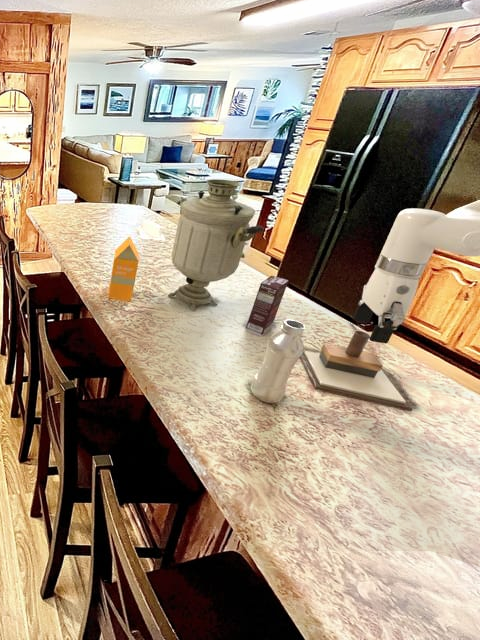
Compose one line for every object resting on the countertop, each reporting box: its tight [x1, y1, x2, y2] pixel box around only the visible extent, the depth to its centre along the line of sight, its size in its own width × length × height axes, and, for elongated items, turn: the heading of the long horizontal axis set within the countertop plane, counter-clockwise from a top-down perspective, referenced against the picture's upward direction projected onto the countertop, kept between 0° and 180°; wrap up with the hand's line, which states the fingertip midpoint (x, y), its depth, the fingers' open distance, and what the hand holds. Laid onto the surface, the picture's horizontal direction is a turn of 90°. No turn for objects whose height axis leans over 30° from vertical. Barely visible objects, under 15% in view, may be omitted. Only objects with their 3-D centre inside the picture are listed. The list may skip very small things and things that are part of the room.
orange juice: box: [107, 235, 140, 302], centre depth 130 cm, size 8×9×20 cm
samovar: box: [167, 178, 265, 312], centre depth 122 cm, size 30×26×40 cm
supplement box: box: [244, 275, 289, 337], centre depth 112 cm, size 9×5×16 cm, turn 130°
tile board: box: [299, 350, 414, 412], centre depth 96 cm, size 18×16×1 cm
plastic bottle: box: [250, 319, 306, 404], centre depth 85 cm, size 6×7×20 cm
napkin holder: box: [138, 220, 166, 241], centre depth 191 cm, size 15×11×6 cm
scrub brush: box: [319, 330, 384, 378], centre depth 96 cm, size 10×5×10 cm, turn 68°
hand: (368, 330), depth 93 cm, fingers open, 9 cm apart
